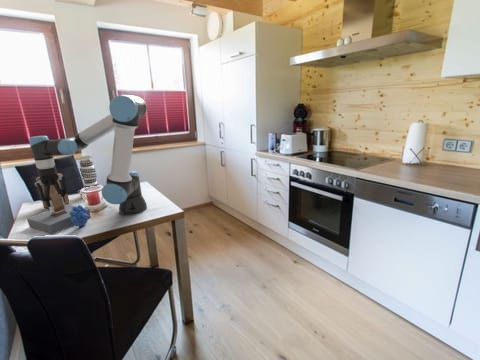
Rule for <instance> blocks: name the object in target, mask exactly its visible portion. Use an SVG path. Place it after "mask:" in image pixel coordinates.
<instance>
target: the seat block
mask: <svg viewBox="0 0 480 360" xmlns="http://www.w3.org/2000/svg"><path fill="white" fill-rule="evenodd" d="M74 206H75V205H71V204H66V205H65V211H66V213H65V214H63V215H60V216H58V217H55V216H52V213H51V212H50V210H46V211H44V212H41V213H38V214H36V215H32V216H30V217H27V218H26V220H27V223H28V226H29V228H30V229H33V230H36V231H41V232H43V233H47V234H50V235H55V234H57V233H59V232H61V231H63V230H66V229H68V228H70V227H73V226H74V225H73V223H74V222H71V221H70V218H71V217H73V216H71V215H70V212H71V211H73V210H72V208H73V207H74ZM84 208H85V207H84ZM85 209H86V210H87V212H86V214H87V215H88V218H87V219H86V220H89V219H91V218H92V216H91V212H90V209H88V208H85Z"/></svg>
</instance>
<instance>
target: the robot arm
mask: <svg viewBox="0 0 480 360" xmlns="http://www.w3.org/2000/svg"><path fill="white" fill-rule="evenodd" d="M146 104H147V103H146V102H145V101H144V99H143V98H141V97H140V96H138V95H135V94H134V95H133V94H132V95H129V94H125V93H124V94H119V95H116V96H115V97H113V98H112V99H111V100H110V103H109V106H108V108H109V110H108V111H109V115H106V116H105V117H103V118H101V119H100V120H97V122H94V124H91V125H89V126H88V127H86V128H84V130H82V131H80V132H79V133H77V134H75V135H73V136H70V137H66V138H60V139H59V138H58V139H49V137H48V136H47V135H36V136H31V137H29V138H28V141H29V146H30V150H31V153H32V156H33V159H34V162H35V166H36V169H37V175H38V177H40V179H39V181H38V182H33V185H34V186H35V187H36V191H37V194H38V198H39V200H40V201H41V202H42V201H45V202H46V206H47V207H49V208H48V209H49V211H50V212H52V213H54V212H55V211H54V207H53V204H52V200H50V186H51V185H53V186H54V187H55V189H56V191H57V192H58V194H61V196H62V200H63V204H64V202H65V198H64V196H65V194H68V190H67V186H66V182H65V181H66V180H65V177H66V176H64V175H63V176H58V175H57V173H58V170H57V167H56V163H55V160H54V156H68V155H74V154H75V153H76V152H77V151H78V152H79V151H82V150H84V149H86V148H88V146H89V145H91V144H93V143H94V142H96V141H98V140H100V139H102V138H103V137H105V136H106V135H108V134H110V133H112V132H114V137H113V144H112V145H113V147H112V156H111V166H110V173H108V174H107V175H106V183H105V185H103V187H102V189H101V196H102V198H103V200H105V202H107V203H108V204H110V205H119V206H118V211H119V214H121V215H126V216H127V215H135V214H138V213H141V212H143V211H146V209H147V208H148V206H147V202H146V199H144V196H143V194H142V187H141V180H140V175H139V172H138V171H137V170H131V165H132V163H131V162H132V155H133V146H134V139H135V138H134V137H135V131H136V129H138V128H139V125H140V119H142V118H143V117H144V116H145V115H146V112H147V105H146ZM58 179H59V182H60V186H61V188H60V187H59V184H58V182H57V180H58ZM41 183H43V184H44V193H43V189H42V186H41ZM64 208H65V204H64Z"/></svg>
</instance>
